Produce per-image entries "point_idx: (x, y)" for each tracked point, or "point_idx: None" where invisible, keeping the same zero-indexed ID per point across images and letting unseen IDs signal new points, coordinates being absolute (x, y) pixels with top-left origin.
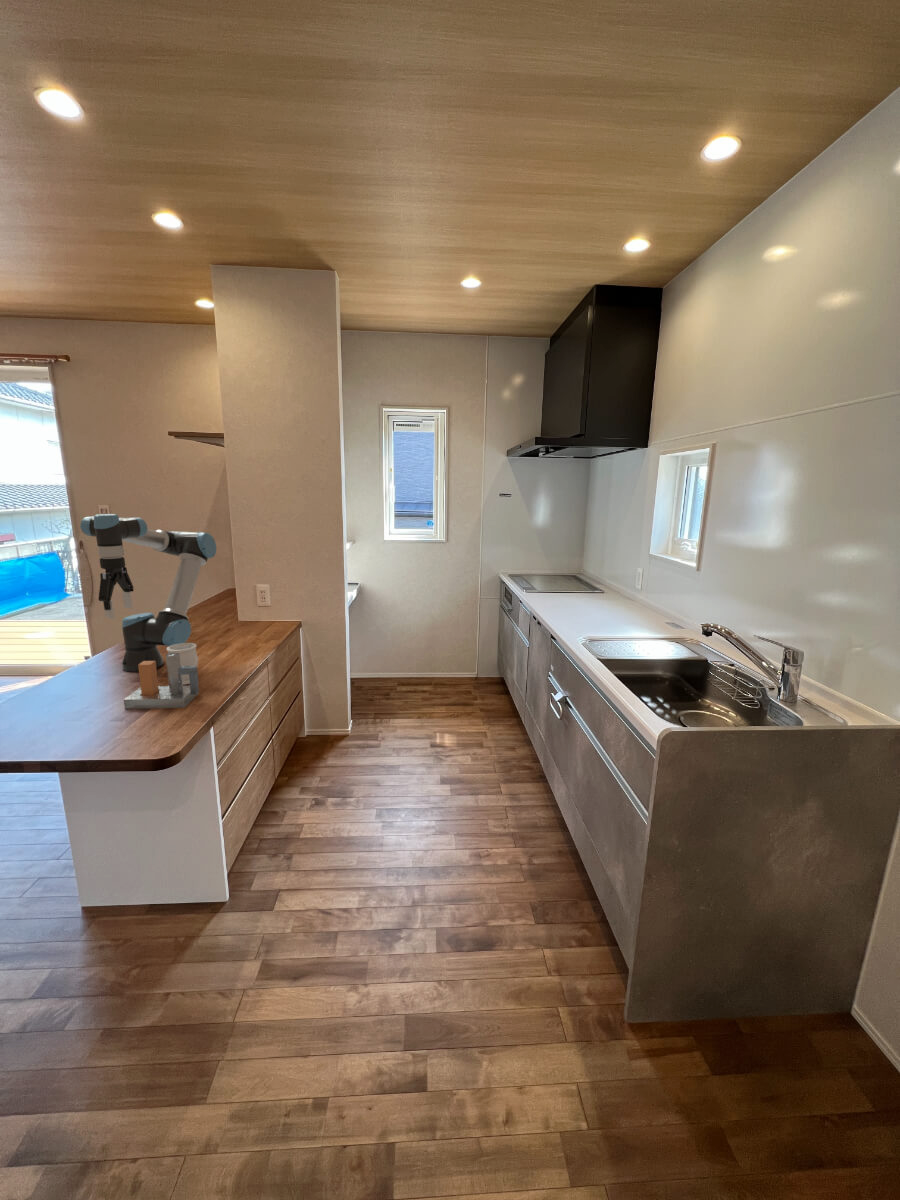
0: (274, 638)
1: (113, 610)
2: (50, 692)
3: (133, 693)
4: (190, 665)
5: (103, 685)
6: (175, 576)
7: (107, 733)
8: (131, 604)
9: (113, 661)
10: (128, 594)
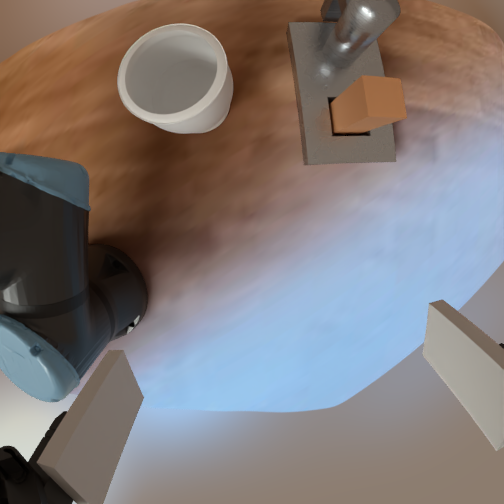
0: None
1: (471, 332)
2: (291, 381)
3: (359, 157)
4: (211, 52)
5: (244, 306)
6: None
7: (473, 140)
8: (108, 372)
9: None
10: (74, 460)
